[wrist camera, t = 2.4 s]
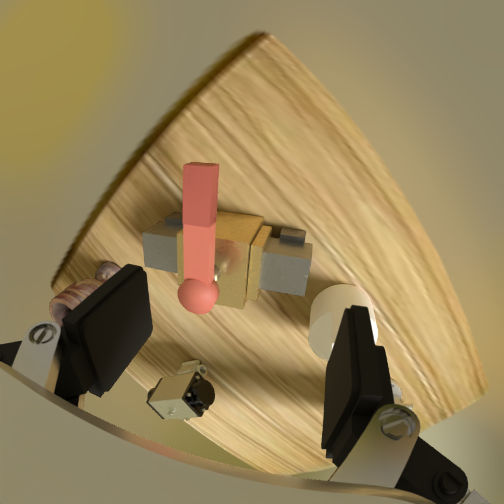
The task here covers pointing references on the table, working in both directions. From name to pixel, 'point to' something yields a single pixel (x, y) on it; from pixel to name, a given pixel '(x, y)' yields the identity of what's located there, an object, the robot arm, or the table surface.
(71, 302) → the mortar and pestle
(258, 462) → the table surface
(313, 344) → the cylinder with rectangular tab
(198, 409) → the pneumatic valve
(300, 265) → the valve pipe
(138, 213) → the table surface
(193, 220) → the lever
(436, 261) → the table surface
